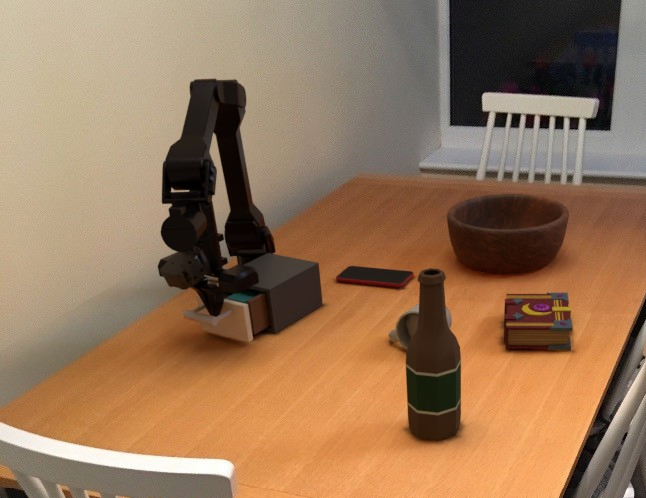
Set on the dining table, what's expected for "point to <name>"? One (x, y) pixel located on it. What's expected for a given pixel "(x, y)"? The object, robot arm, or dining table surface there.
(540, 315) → the decorative book
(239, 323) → the drawer
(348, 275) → the smartphone
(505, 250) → the wooden bowl
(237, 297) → the block
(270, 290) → the cabinet
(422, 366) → the beer bottle
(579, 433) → the dining table surface
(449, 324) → the ceramic mug
